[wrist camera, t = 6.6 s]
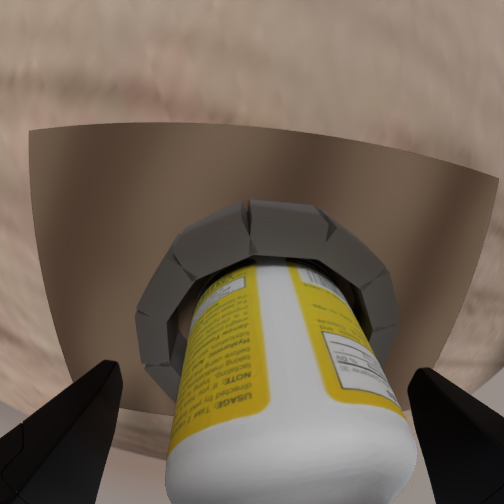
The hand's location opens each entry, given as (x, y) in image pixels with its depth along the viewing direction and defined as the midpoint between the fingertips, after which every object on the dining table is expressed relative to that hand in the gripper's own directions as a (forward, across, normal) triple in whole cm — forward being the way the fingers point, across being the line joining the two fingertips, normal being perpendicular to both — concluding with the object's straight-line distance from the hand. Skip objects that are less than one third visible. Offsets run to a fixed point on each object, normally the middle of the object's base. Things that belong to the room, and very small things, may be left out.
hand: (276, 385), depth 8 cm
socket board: (+5, 0, 0) cm, 5 cm away
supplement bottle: (+4, 0, 0) cm, 4 cm away
